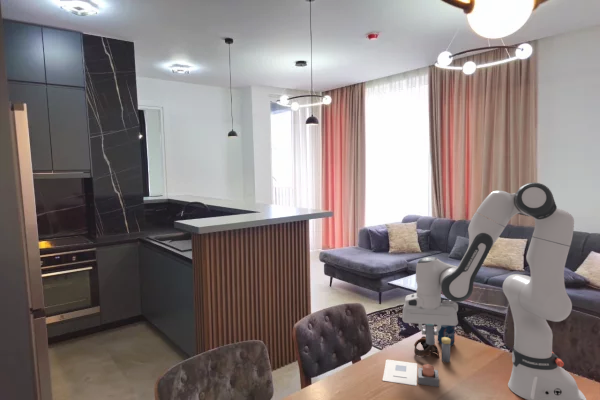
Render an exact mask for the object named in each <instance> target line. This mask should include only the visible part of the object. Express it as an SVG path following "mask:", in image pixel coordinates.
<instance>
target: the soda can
mask: <svg viewBox="0 0 600 400" xmlns="http://www.w3.org/2000/svg"><path fill="white" fill-rule="evenodd" d="M455 328H456V326H450V325H441V329H440V330H439V331H438V336H437V342H438V343H439V345H441V346H442V337H448V338H450V339H451V343H450V347H452V346H453V345H454V344H455V341H456V339H455V337H456V336H455V331H456V330H455Z"/></svg>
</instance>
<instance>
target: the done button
mask: <svg viewBox="0 0 600 400" xmlns="http://www.w3.org/2000/svg"><path fill="white" fill-rule="evenodd" d="M422 368H423V376H426V377H433V378H434V370H435V367H434V366H433V365H432V364H428V363H427V364H422Z"/></svg>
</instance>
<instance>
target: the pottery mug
mask: <svg viewBox="0 0 600 400" xmlns="http://www.w3.org/2000/svg"><path fill="white" fill-rule="evenodd" d="M419 344H420V345H421V346H422V349H419V348H417V346H418V345H419ZM413 346H414V350H413V352H414V356H418V357H421V358H422V357H426V356H430V357H431V356H432V354H431V353H434V354H436V355H437V358H438V359H440V352H439V349H438V346H437V345H436V344H434V345H429V344H426V335H422V336H421V338H419V339H417V340H416V341H415V342H414V345H413Z"/></svg>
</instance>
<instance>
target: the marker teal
mask: <svg viewBox="0 0 600 400" xmlns="http://www.w3.org/2000/svg"><path fill="white" fill-rule="evenodd" d="M424 326H425V328H424V329H425V330H426V335H425V337H426V344H429V345H434V344H435V341H436V340H435V335H434V329H435V325H434V324H424ZM435 345H436V344H435Z"/></svg>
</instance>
